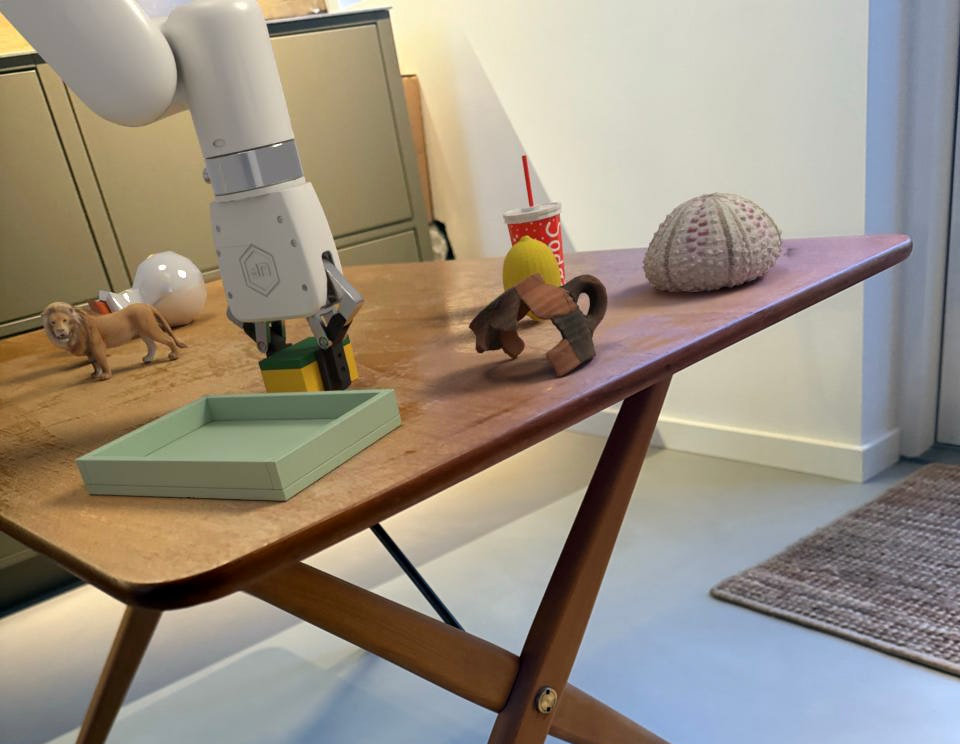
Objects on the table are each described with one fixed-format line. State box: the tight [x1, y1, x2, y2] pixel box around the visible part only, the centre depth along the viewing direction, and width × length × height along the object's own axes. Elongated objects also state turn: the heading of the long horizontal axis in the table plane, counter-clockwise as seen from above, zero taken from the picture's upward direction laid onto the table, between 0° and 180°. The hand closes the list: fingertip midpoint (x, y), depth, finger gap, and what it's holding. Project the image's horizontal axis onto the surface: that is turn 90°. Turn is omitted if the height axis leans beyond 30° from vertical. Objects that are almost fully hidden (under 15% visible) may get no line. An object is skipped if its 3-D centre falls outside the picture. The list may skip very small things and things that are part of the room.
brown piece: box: [468, 273, 609, 378], centre depth 86 cm, size 12×10×8 cm
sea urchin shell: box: [642, 191, 785, 293], centre depth 100 cm, size 13×14×8 cm
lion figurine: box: [40, 301, 189, 381], centre depth 116 cm, size 15×5×9 cm, turn 126°
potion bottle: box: [86, 250, 209, 329], centre depth 136 cm, size 9×10×15 cm
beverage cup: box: [502, 154, 567, 286], centre depth 107 cm, size 6×6×14 cm
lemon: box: [502, 236, 561, 323], centre depth 99 cm, size 6×6×8 cm
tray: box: [74, 388, 403, 502], centre depth 78 cm, size 20×15×3 cm
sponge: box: [257, 333, 360, 393], centre depth 92 cm, size 5×8×4 cm, turn 151°
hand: (314, 388), depth 93 cm, fingers open, 4 cm apart
